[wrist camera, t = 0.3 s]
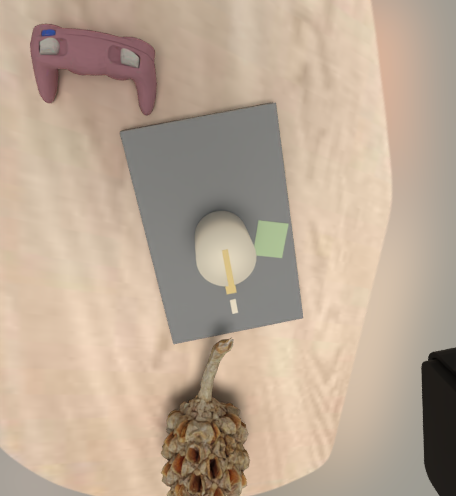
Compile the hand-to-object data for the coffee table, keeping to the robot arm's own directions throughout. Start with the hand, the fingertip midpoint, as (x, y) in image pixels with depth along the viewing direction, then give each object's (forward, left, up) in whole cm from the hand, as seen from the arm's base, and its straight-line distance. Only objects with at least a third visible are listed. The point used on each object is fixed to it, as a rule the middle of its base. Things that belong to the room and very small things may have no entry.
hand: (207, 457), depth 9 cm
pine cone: (+26, -3, -35) cm, 43 cm away
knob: (+8, +2, -33) cm, 34 cm away
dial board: (+6, +2, -34) cm, 35 cm away
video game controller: (-10, -6, -35) cm, 37 cm away
